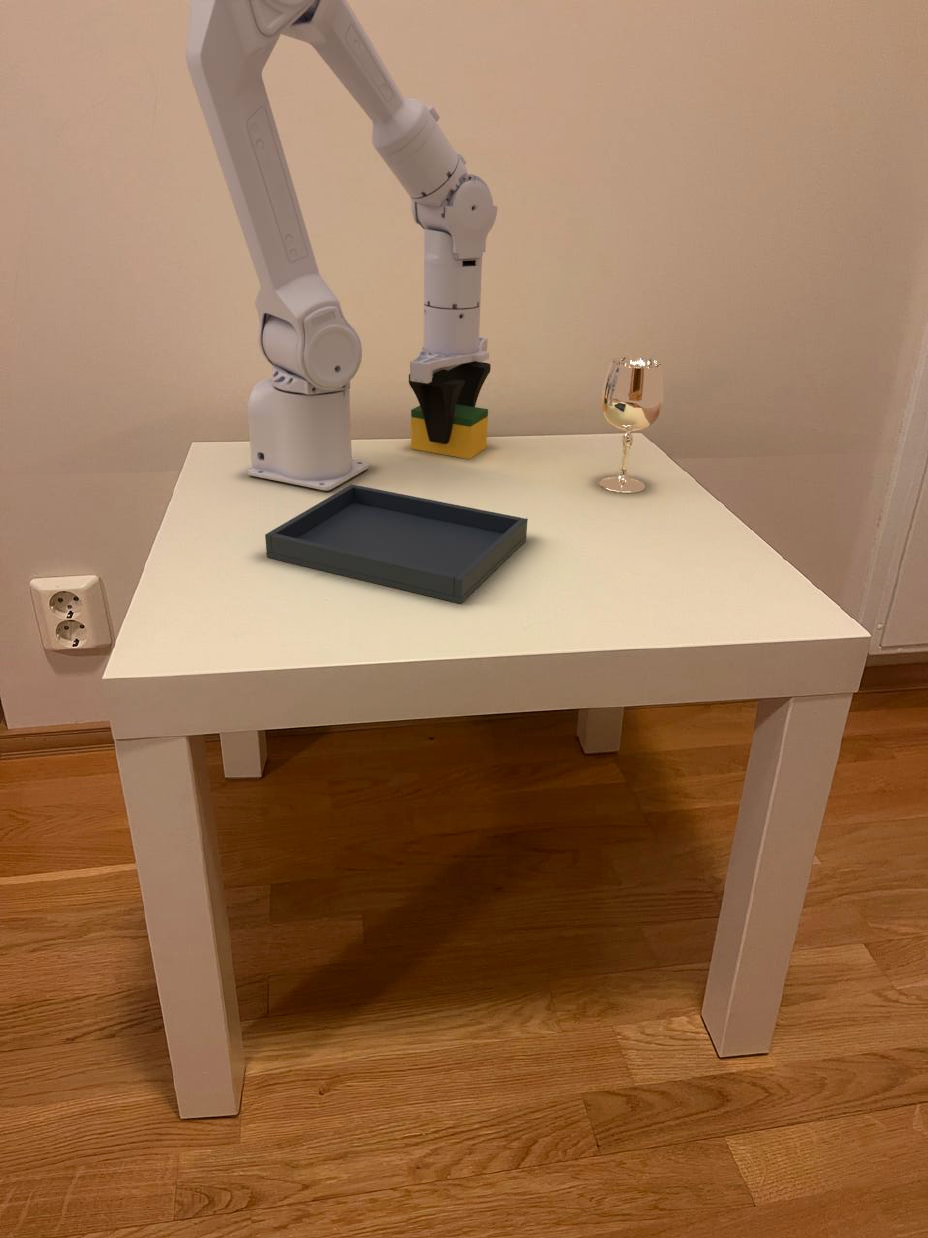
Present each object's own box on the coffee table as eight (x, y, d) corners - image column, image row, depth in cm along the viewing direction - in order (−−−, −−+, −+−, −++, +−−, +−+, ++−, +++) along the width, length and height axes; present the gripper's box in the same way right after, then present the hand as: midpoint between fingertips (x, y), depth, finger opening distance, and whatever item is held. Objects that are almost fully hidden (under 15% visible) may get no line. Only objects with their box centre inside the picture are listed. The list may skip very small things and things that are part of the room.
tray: (266, 557, 73) (264, 534, 72) (351, 504, 83) (351, 483, 82) (461, 604, 67) (461, 579, 66) (526, 540, 77) (527, 518, 76)
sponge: (410, 448, 98) (410, 409, 96) (429, 438, 102) (429, 399, 100) (469, 459, 96) (471, 419, 94) (486, 447, 99) (488, 408, 97)
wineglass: (655, 480, 92) (672, 359, 86) (646, 498, 87) (663, 372, 81) (599, 472, 93) (611, 353, 87) (587, 490, 88) (599, 365, 83)
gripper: (457, 319, 84) (453, 460, 91) (515, 298, 96) (508, 424, 102) (390, 312, 87) (391, 449, 93) (455, 292, 98) (452, 415, 105)
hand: (449, 435), depth 98 cm, fingers closed on sponge, 4 cm apart
